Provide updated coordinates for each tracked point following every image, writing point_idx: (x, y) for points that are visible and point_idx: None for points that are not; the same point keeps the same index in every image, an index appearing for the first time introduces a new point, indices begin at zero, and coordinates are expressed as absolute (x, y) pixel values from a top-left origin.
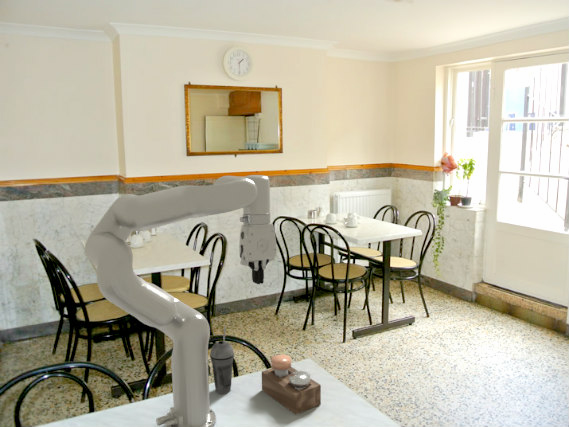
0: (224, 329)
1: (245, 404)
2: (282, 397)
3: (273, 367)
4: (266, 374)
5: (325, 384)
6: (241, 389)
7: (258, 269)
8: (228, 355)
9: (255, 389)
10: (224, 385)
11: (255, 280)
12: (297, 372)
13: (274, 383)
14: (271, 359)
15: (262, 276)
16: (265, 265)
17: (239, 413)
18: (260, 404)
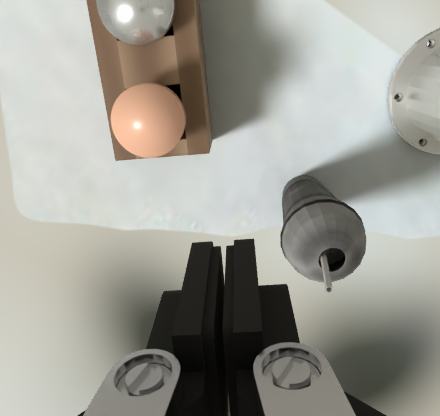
0: (331, 283)
1: (288, 96)
2: (200, 31)
3: (184, 113)
4: (204, 127)
5: (33, 67)
6: (258, 174)
7: (237, 375)
8: (320, 205)
9: (225, 153)
10: (314, 181)
11: (278, 285)
12: (128, 31)
13: (202, 76)
14: (179, 138)
15: (197, 278)
16: (100, 398)
17: (325, 62)
18: (253, 72)
